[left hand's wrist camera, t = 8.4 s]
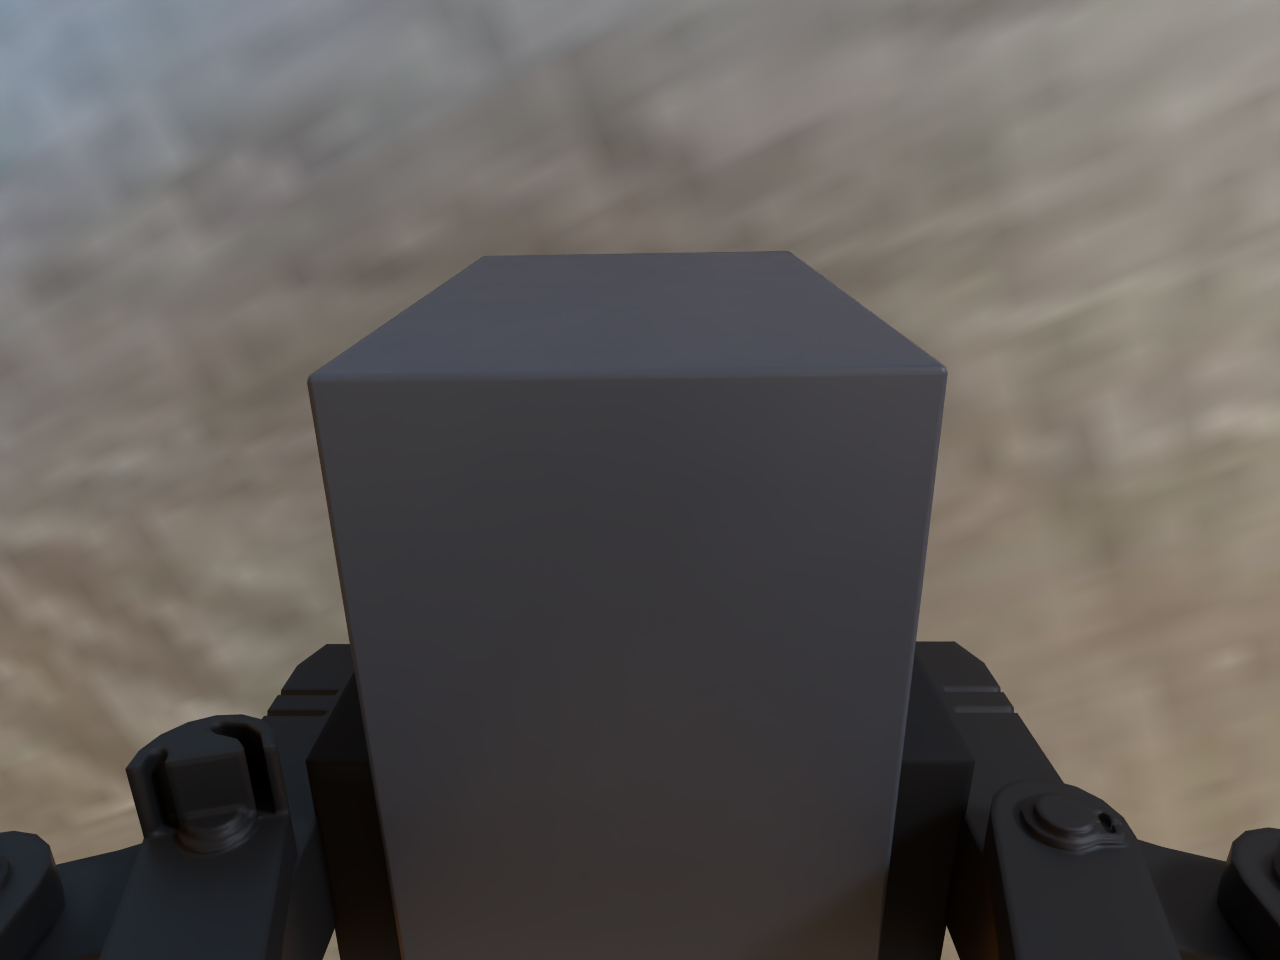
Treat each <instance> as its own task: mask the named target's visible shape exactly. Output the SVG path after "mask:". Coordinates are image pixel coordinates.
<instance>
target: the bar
mask: <svg viewBox="0 0 1280 960" xmlns="http://www.w3.org/2000/svg"><path fill="white" fill-rule="evenodd" d="M946 382H947V370H946V367H945V366H944V365H943V364H941V363H940V362H939V361H937V360H936V359H934V358H933V357H932V356H930V355H929V354H928V353H926V352H925V351H924V350H922V349H921V348H920V347H918V346H917V345H915V344H914V343H913V342H911V341H910V340H909V339H907V338H906V337H905V336H903V335H902V334H901V333H899V332H898V331H896V330H895V329H894V328H892V327H891V326H890V325H888V324H887V323H886V322H884V321H883V320H882V319H880V318H879V317H878V316H876V315H875V314H873V313H872V312H871V311H869V310H868V309H867V308H865V307H864V306H863V305H861V304H860V303H859V302H857V301H856V300H854V299H853V298H852V297H850V296H849V295H848V294H846V293H845V292H844V291H842V290H841V289H840V288H838V287H837V286H835V285H834V284H833V283H831V282H830V281H829V280H827V279H826V278H825V277H823V276H822V275H821V274H819V273H818V272H816V271H815V270H814V269H812V268H811V267H810V266H808V265H807V264H806V263H804V262H803V261H802V260H800V259H799V258H797V257H796V256H795V255H793V254H792V253H791V252H788V251H767V252H706V253H645V254H584V255H523V256H484V257H482V258H480V259H479V260H477V261H476V262H474V263H473V264H472V265H470V266H469V267H467V268H466V269H464V270H463V271H461V272H460V273H458V274H457V275H456V276H454V277H453V278H451V279H450V280H448V281H447V282H445V283H444V284H442V285H441V286H439V287H438V288H437V289H435V290H434V291H432V292H431V293H429V294H428V295H426V296H425V297H423V298H422V299H421V300H419V301H418V302H416V303H415V304H413V305H412V306H410V307H409V308H407V309H406V310H405V311H403V312H402V313H400V314H399V315H397V316H396V317H394V318H393V319H391V320H390V321H388V322H387V323H386V324H384V325H383V326H381V327H380V328H378V329H377V330H375V331H374V332H372V333H371V334H370V335H368V336H367V337H365V338H364V339H362V340H361V341H359V342H358V343H356V344H355V345H353V346H352V347H351V348H349V349H348V350H346V351H345V352H343V353H342V354H340V355H339V356H337V357H336V358H335V359H333V360H332V361H330V362H329V363H327V364H326V365H324V366H323V367H321V368H320V369H318V370H317V371H316V372H314V373H313V374H311V375H310V376H309V377H308V381H307V384H308V390H309V396H310V403H311V409H312V415H313V421H314V427H315V433H316V439H317V445H318V451H319V457H320V464H321V470H322V476H323V482H324V488H325V494H326V500H327V506H328V512H329V519H330V525H331V531H332V537H333V543H334V549H335V555H336V561H337V567H338V574H339V580H340V586H341V592H342V598H343V604H344V610H345V616H346V622H347V628H348V635H349V641H350V647H351V653H352V659H353V665H354V671H355V677H356V683H357V690H358V696H359V702H360V708H361V714H362V720H363V726H364V732H365V738H366V744H367V751H368V757H369V763H370V769H371V775H372V781H373V787H374V793H375V799H376V806H377V812H378V818H379V824H380V830H381V836H382V842H383V848H384V854H385V861H386V867H387V873H388V879H389V885H390V891H391V897H392V903H393V909H394V915H395V922H396V928H397V934H398V940H399V946H400V952H401V958H402V960H878V958H879V950H880V941H881V933H882V924H883V916H884V907H885V899H886V890H887V882H888V873H889V865H890V856H891V848H892V839H893V831H894V822H895V814H896V806H897V797H898V789H899V780H900V772H901V763H902V755H903V746H904V738H905V729H906V721H907V712H908V704H909V695H910V687H911V678H912V670H913V661H914V653H915V645H916V636H917V628H918V619H919V611H920V602H921V594H922V585H923V577H924V568H925V560H926V551H927V543H928V534H929V526H930V517H931V509H932V501H933V492H934V484H935V475H936V467H937V458H938V450H939V441H940V433H941V424H942V416H943V407H944V399H945V390H946Z"/></svg>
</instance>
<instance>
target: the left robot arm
mask: <svg viewBox="0 0 1280 960" xmlns="http://www.w3.org/2000/svg"><path fill="white" fill-rule="evenodd" d="M126 773H127V777H128V780H129V784H130V788H131V791H132V795H133V799H134V802H135V806H136V810H137V813H138V817H139V821H140V824H141V828H142V832H143V835H144V840H143V842H142V844H138V845H135V846H132V847H128V848H125V849H122V850H118V851H114V852H109V853H105V854H101V855H97V856H92V857H88V858H84V859H79V860H75V861H71V862H66V863H62V864H58V865H56V864H55V861H54V858H53V855H52V852H51V849H50V846H49V845H48V844H47V843H46V842H45V841H44V840H42V839H41V838H40V837H39V836H38V835H37V834H30V833H24V832H18V831H9V832H2V833H0V960H322V959H323V957H324V954H325V952H326V949H327V947H328V944H329V942H330V939H331V936H332V934H333V931H334V929H335V932H336V937H337V943H338V949H339V954H340V960H402V958H401V952H400V946H399V940H398V934H397V928H396V922H395V915H394V909H393V903H392V897H391V891H390V885H389V879H388V873H387V867H386V861H385V854H384V848H383V842H382V836H381V830H380V824H379V818H378V812H377V806H376V799H375V793H374V787H373V781H372V775H371V769H370V763H369V757H368V751H367V744H366V738H365V732H364V726H363V720H362V714H361V708H360V702H359V696H358V690H357V683H356V677H355V671H354V665H353V659H352V653H351V647H350V644H326V645H325V646H323V647H322V648H321V649H319V650H318V651H317V652H315V653H314V654H313V655H311V656H310V657H308V658H307V659H306V660H304V661H303V662H302V663H300V664H299V665H298V666H297V667H296V669H295V670H294V672H293V673H292V675H291V676H290V678H289V679H288V681H287V682H286V684H285V685H284V687H283V688H282V690H281V695H278V696H277V697H276V699H275V700H274V702H273V703H272V705H271V706H270V708H269V709H268V714H267V716H264V717H263V718H262V719H258V718H254V717H250V716H246V715H242V714H241V715H216V716H212V717H208V718H203V719H199V720H195V721H191V722H188V723H185V724H183V725H181V726H179V727H177V728H174V729H172V730H170V731H168V732H166V733H163V734H161V735H160V736H158V737H157V738H156V739H154V740H153V741H152V742H150V743H149V744H148V745H146V746H145V747H143V748H142V749H141V750H139V751H138V753H137V754H136V755H135V757H134V758H133V759H132V761H131V762H130V764H129V765H128V766H127V768H126ZM946 925H947V928H948V930H949V933H950V935H951V938H952V940H953V943H954V945H955V948H956V951H957V953H958V956H959V958H960V960H1280V829H1275V828H1262V829H1256V830H1249V831H1245V832H1244V833H1243V834H1242V835H1240V836H1239V837H1238V838H1237V839H1236V840H1235V841H1233V843H1232V846H1231V849H1230V852H1229V855H1228V858H1227V861H1226V862H1225V861H1221V860H1217V859H1212V858H1208V857H1204V856H1199V855H1195V854H1191V853H1186V852H1182V851H1178V850H1173V849H1169V848H1165V847H1161V846H1157V845H1154V844H1151V843H1148V842H1144V841H1141V840H1138V839H1137V838H1136V836H1135V835H1134V833H1133V832H1132V830H1131V828H1130V827H1129V825H1128V824H1127V822H1126V821H1125V819H1124V818H1123V817H1122V816H1121V815H1120V814H1119V813H1117V812H1116V811H1115V810H1114V809H1113V808H1111V807H1110V806H1109V805H1108V804H1107V803H1105V802H1104V801H1103V800H1101V799H1099V798H1097V797H1096V796H1094V795H1092V794H1090V793H1088V792H1086V791H1084V790H1082V789H1080V788H1078V787H1075V786H1072V785H1068V784H1064V783H1063V781H1062V780H1061V778H1060V777H1059V775H1058V774H1057V772H1056V771H1055V769H1054V768H1053V766H1052V765H1051V763H1050V762H1049V760H1048V759H1047V757H1046V756H1045V754H1044V753H1043V751H1042V750H1041V748H1040V747H1039V745H1038V744H1037V742H1036V741H1035V739H1034V737H1033V736H1032V734H1031V733H1030V731H1029V730H1028V728H1027V727H1026V725H1025V724H1024V722H1023V721H1022V719H1021V718H1020V716H1019V715H1018V713H1014V707H1013V706H1012V704H1011V703H1010V701H1009V700H1008V698H1007V697H1006V695H1005V694H1004V692H1000V686H999V685H998V683H997V682H996V680H995V679H994V677H993V676H992V674H991V673H990V671H989V670H988V668H987V667H986V665H985V664H984V663H983V662H982V661H981V660H979V659H978V658H977V657H975V656H974V655H972V654H971V653H970V652H968V651H967V650H966V649H964V648H963V647H961V646H960V645H959V644H957V643H956V642H916V645H915V653H914V661H913V670H912V678H911V687H910V695H909V704H908V712H907V721H906V729H905V738H904V746H903V755H902V763H901V772H900V780H899V789H898V797H897V806H896V814H895V822H894V831H893V839H892V848H891V856H890V865H889V873H888V882H887V890H886V899H885V907H884V916H883V924H882V933H881V941H880V950H879V958H878V960H940V959H941V953H942V947H943V942H944V936H945V930H946Z"/></svg>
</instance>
